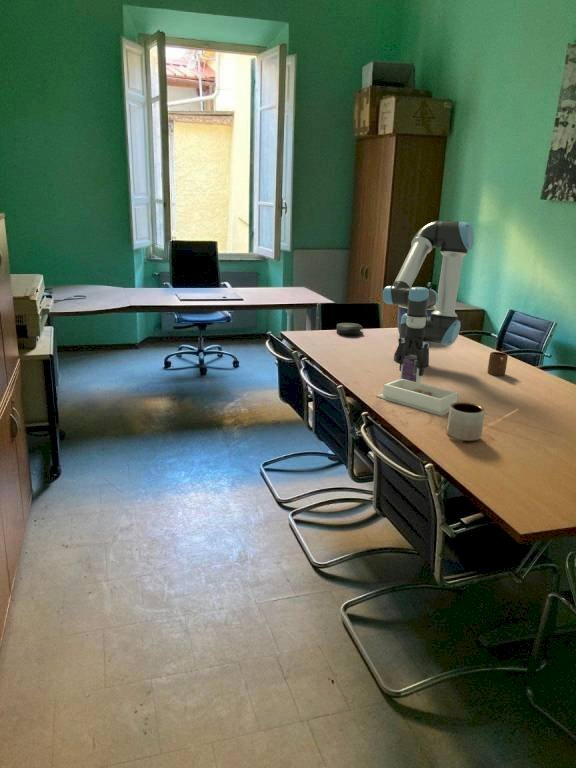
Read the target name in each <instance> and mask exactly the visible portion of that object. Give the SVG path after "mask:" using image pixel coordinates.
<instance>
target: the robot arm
mask: <svg viewBox="0 0 576 768" xmlns="http://www.w3.org/2000/svg"><path fill="white" fill-rule="evenodd" d="M474 238H475V235H474V228H473V226H472V224H471V223H470V222H468V221H467V222H465V221H451V220H449V221H448V220H446V221H445V220H434V221H431V222H430V223H429V222H428V223H427V224H426V225H424V226H422V227H421V228H420V229H419V230H418V231H417V232H416V233H415V234H414V236H413V238H412V240H411V242H410V244H411V245H410V246H411V247H410V249H409V251H408V254H407V255H406V257H405V260H404V261H403V263H402V266H401V267H400V270H399V272H398V273H397V276H396V278H395V280H394V282H393V283H392V285H387V286H385V287H384V288H383V290H382V301H383V303H385V304H387V305H392V306H399V305H401V306H408V312H407V313H406V314H403V315H402V318H401V323H400V334H399V337H398V340H397V341H398V345H397V347H396V350H395V352H394V354H393V362H396V363H397V364H399V372H400V376H399V377H400V378H399V379H401V378H402V367H403V359H404V358H405V356H406V355H417V360H418V365H419V368H417V374H416V382H417V383H421V384H422V382H421V381H422V376H423V375H424V371H425V370H424V369H427V368H428V367H429V365H430V364H429V363H430V347H431V343H432V344H438V345H441V346H443V345H444V346H445V345H447V346H451V345H453V344H454V343H456V340H457V338H458V336H459V334H460V330H461V321H460V320H459V319H458V314H457V313H456V311H455V310H456V305H457V299H458V298H457V297H458V292H459V286H460V278H461V274H462V273H461V272H462V266H463V259H464V257H465V256H467V255H468V251H470V250H472V249H473V245H474ZM434 248H437V249H440V254H441V255H442V262H441V268H440V275H439V283H438V289H437V291H436V290H434V289H431V288H428V287H424V286H423V287H422V286H413V284H414V282H415V280H416V278H417V276H418V274H419V272H420V269H421V267H422V266H423V263H424V262H425V259H426V257H427V255H428V254H429V253H430V252H431V251H432V250H433V249H434ZM433 306H435V307H436V309H435V311H433V312H432V313H431V317H428V316H427V309H428V308H431V307H433Z"/></svg>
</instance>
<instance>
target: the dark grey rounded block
mask: <svg viewBox="0 0 576 768" xmlns="http://www.w3.org/2000/svg"><path fill="white" fill-rule="evenodd" d="M361 330H363V331H364V328H363V326H362V325H361V324H359V323H355V322H340V323H337V324H336V334H337V335H339V336H341V337H347V338H348V337H349V338H355V337H359V336H361Z"/></svg>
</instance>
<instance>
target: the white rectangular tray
mask: <svg viewBox="0 0 576 768" xmlns="http://www.w3.org/2000/svg"><path fill="white" fill-rule="evenodd" d="M458 396H459V393H458V392H457V391H456V392H455V391H451V390H448V389H445V388H440V387H436V386H432V385H428V384H425V383H422V382H421V383H417V382H413V381H409V380H406V379H400V378H399V379H395V380H392V381H390V382H388V383H384V384H383V390H382V393H379V394H377V395H375V397H376V398H377V399H378V398H379V399H382V400H386V401H387V402H388V401H389V402H391V403H395V404H399V405H402V406H406V407H409V408H413V409H416V410H420V411H423V412H427V413H429V414H430V413H431V414H433V415H438V416H440V417H443V416H445V415H447V414H449V410H450V405H451V404H453V403H458V402H457V401H458Z"/></svg>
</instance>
